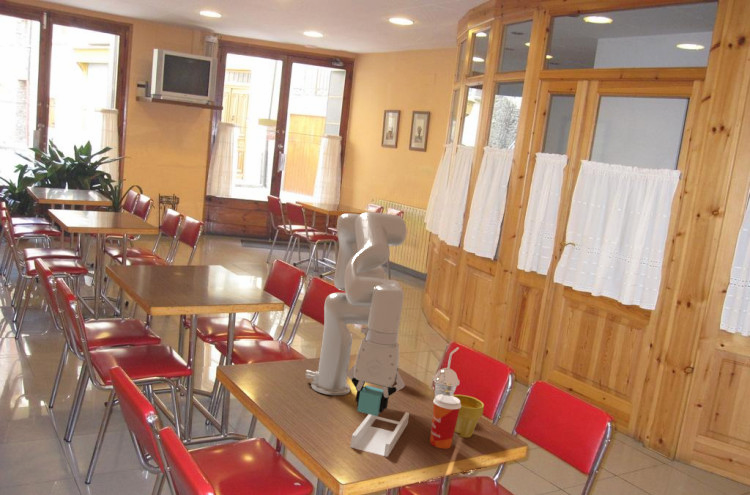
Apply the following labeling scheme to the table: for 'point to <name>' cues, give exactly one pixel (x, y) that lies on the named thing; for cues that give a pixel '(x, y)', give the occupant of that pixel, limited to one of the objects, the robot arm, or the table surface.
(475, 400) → the plant pot
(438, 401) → the paper cup
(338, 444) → the table surface
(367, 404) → the teal block
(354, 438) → the trap channel
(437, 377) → the cup with straw
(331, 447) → the table surface
